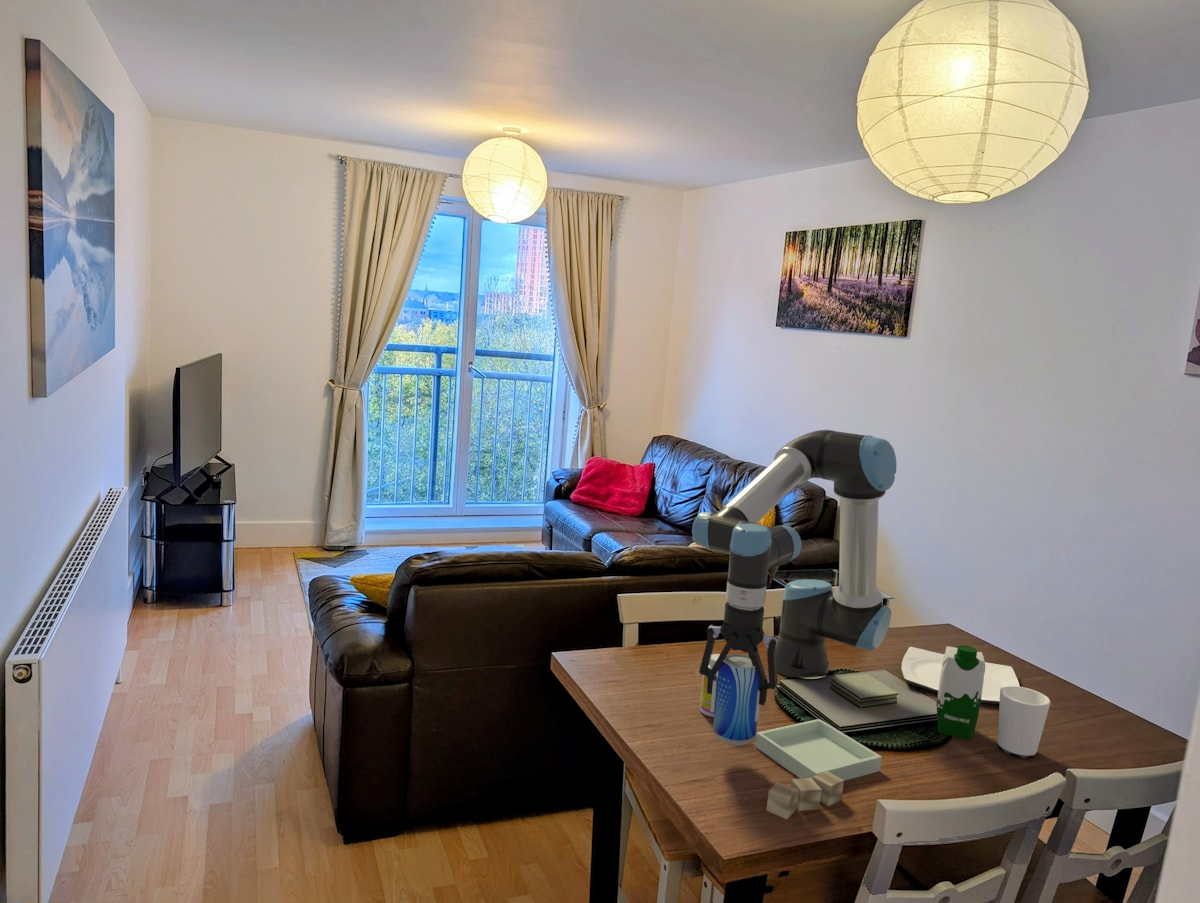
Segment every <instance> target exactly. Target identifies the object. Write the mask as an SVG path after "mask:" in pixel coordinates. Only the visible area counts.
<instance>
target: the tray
mask: <svg viewBox="0 0 1200 903" xmlns="http://www.w3.org/2000/svg"><path fill="white" fill-rule="evenodd" d="M754 747H755V748H756V749H758V750H759V751H760V752H762V753H763V754H765V755H766V756H768V757H769V758H771V759H772V760H773V761H774V762H776V763H778V764H779V765H780V766H782V767H783V768H785V769H786V770H787V771H788V772H790V773H791V774H793V775H794V776H796V777H797V778H798V779H802V778H812V779H813V776H815V775H818V774H820V773H822V772H824V771H827V772H829V773H831V774H833V775H835V776H837V777H839V778H841V779H843V780H844V781H846V782H847V781H849V780H853V779H856V778H860V777H864V776H868V775H871V774H874V773H877V772H880V771H881V768H882V767H881V766H882V759H883V756H881V755H880V754H878V753H877V752H875V751H873V750H871V749H870V748H868V747H867V746H865V745H863V744H862V743H859V742H858V741H856V740H855V739H853V737H850V736H848V735H846V734H845V733H843V732H841V730H838V728H835V727H833V726H832V725H830V724H828V723H827V722H825V721H823V720H822V719H820V718H817V719H812V720H808V721H804V722H798V723H794V724H790V725H786V726H785V725H784V726H781V727H775V728H771V729H767V730H763V731H756V735H755V743H754Z"/></svg>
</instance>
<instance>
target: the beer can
mask: <svg viewBox="0 0 1200 903" xmlns="http://www.w3.org/2000/svg"><path fill="white" fill-rule="evenodd" d="M759 689H760V687H759V676H758V674H757V672H756V670H755V666H753V665H752V662H751V659H750V657H749V655H746V654H741V653H739V654H738V653H733V654H729V655H728V654H727V656H726V658H725V659H724V662H723V663H722V665H721V666H720V668H719V670H718V681H717V692H716V703H715V715H714V717H713V727H712V728H713V731H714V733H715V734H716V737H717V738H718V740H720V741H721V742H723V743H725V744H728V745H733V746H743V745H748V744H749V743H750V742H752V740H753V739H754V738H756V733H757V728H758V721H757V722H755V714H756V704H757V694H758V690H759Z"/></svg>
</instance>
